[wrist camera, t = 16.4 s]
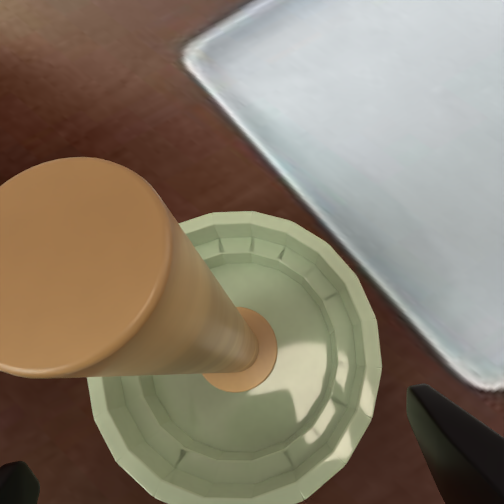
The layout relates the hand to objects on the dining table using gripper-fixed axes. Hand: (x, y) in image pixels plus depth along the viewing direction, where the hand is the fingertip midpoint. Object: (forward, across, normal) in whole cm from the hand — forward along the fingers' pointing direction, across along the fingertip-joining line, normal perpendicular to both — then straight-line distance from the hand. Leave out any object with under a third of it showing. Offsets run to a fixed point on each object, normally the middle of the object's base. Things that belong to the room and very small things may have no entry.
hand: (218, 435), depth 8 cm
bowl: (+8, 0, +4) cm, 9 cm away
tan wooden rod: (+8, 0, +4) cm, 9 cm away
